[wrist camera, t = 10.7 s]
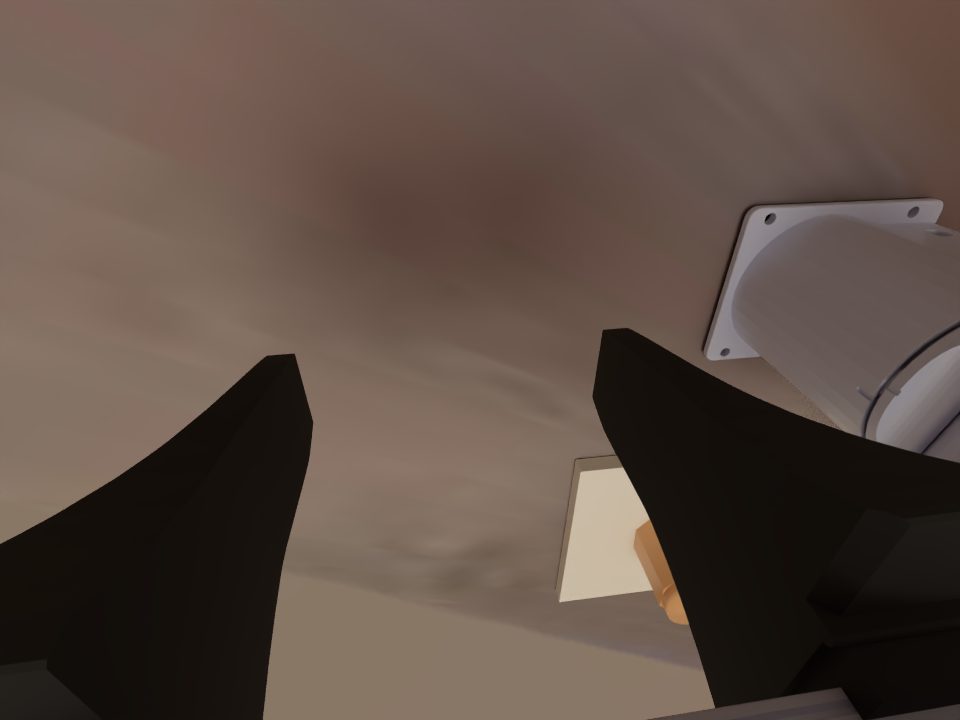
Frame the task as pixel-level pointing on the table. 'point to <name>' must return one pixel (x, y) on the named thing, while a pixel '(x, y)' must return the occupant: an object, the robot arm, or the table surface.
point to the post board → (601, 533)
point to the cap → (658, 572)
